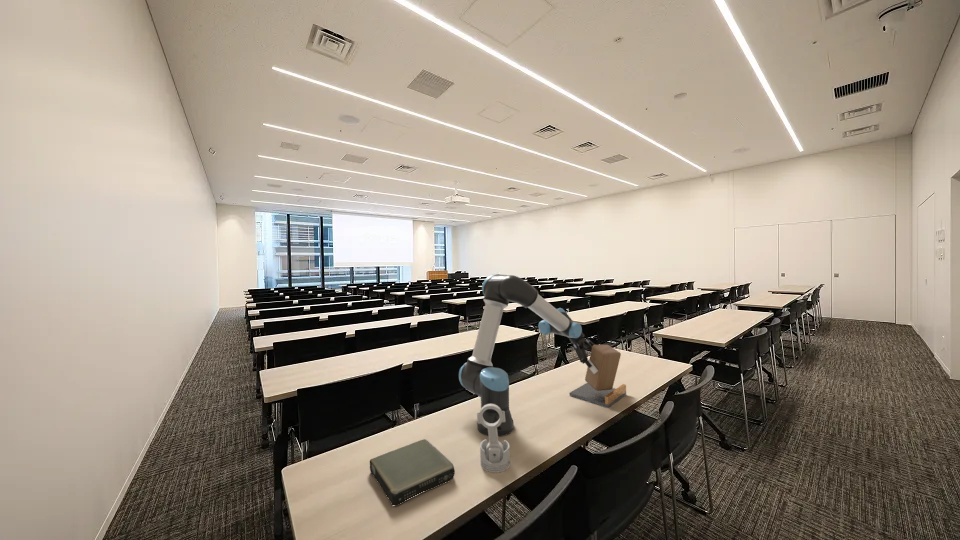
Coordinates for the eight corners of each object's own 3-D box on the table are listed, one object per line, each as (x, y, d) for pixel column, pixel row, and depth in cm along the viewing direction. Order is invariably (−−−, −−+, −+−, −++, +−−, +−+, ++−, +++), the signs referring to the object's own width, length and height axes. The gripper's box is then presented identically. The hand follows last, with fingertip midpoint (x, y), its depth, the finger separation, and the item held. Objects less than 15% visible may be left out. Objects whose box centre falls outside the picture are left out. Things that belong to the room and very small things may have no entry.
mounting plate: (569, 395, 168) (569, 385, 168) (588, 384, 182) (588, 375, 182) (608, 407, 154) (608, 397, 154) (626, 394, 168) (626, 384, 168)
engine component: (509, 473, 110) (509, 455, 120) (508, 411, 109) (508, 398, 119) (476, 472, 111) (479, 454, 121) (474, 411, 110) (478, 398, 120)
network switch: (422, 447, 126) (421, 434, 126) (462, 476, 109) (462, 461, 109) (362, 476, 110) (361, 461, 110) (398, 515, 93) (398, 498, 93)
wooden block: (583, 380, 171) (591, 344, 166) (599, 379, 174) (608, 343, 170) (596, 391, 161) (605, 353, 157) (612, 390, 165) (622, 353, 161)
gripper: (581, 334, 187) (608, 367, 176) (557, 342, 170) (585, 379, 159) (590, 325, 183) (618, 359, 172) (566, 334, 166) (595, 371, 155)
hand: (602, 369), depth 166 cm, fingers closed on wooden block, 12 cm apart
